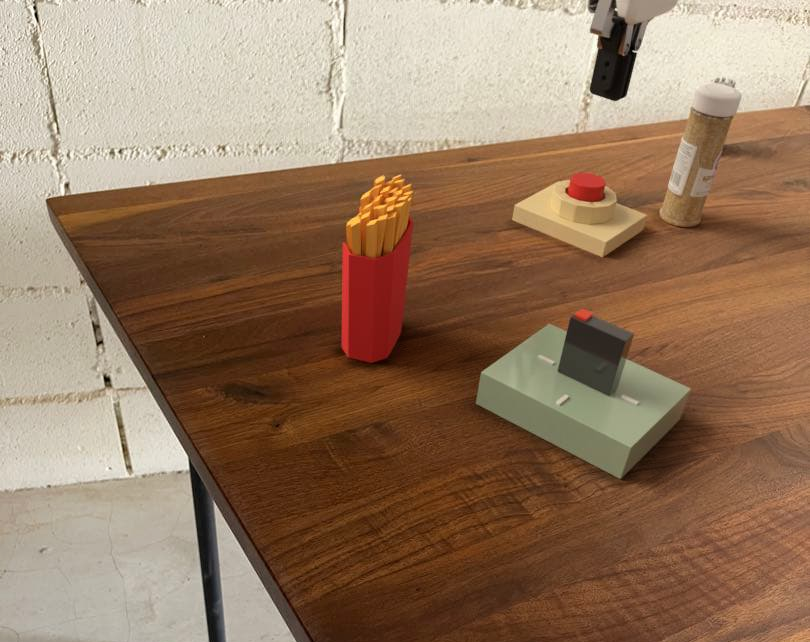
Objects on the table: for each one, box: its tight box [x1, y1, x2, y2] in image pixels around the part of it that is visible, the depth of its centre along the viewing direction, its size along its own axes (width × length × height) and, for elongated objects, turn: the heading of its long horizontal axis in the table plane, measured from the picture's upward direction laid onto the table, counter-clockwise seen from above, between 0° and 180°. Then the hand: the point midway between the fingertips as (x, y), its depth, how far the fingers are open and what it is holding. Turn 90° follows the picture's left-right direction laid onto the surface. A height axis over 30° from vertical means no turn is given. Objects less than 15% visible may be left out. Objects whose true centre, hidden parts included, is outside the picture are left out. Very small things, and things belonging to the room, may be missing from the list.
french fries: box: [341, 173, 414, 364], centre depth 70 cm, size 9×4×13 cm, turn 165°
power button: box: [567, 172, 607, 202], centre depth 91 cm, size 4×4×2 cm
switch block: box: [511, 179, 648, 258], centre depth 93 cm, size 11×9×4 cm
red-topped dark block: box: [557, 308, 635, 395], centre depth 66 cm, size 5×1×5 cm, turn 52°
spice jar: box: [658, 82, 742, 228], centre depth 92 cm, size 5×5×13 cm
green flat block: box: [475, 323, 692, 480], centre depth 69 cm, size 13×10×3 cm
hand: (607, 95), depth 85 cm, fingers closed
